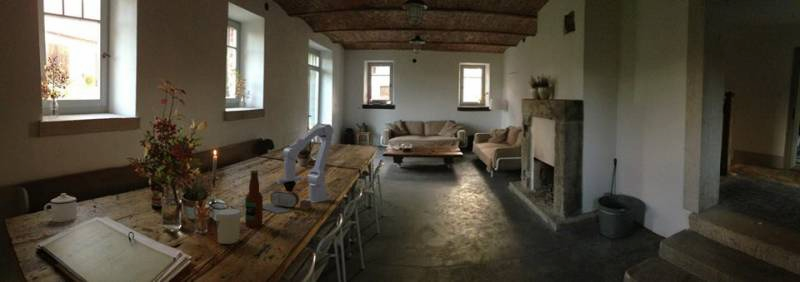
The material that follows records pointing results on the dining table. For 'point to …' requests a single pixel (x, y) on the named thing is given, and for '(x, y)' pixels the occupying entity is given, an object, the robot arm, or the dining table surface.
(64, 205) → the teacup with lid
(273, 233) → the dining table surface
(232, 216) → the coffee cup
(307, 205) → the walnut block
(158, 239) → the dining table surface
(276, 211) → the mat
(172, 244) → the dining table surface
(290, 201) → the tin
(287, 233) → the dining table surface
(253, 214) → the bottle
